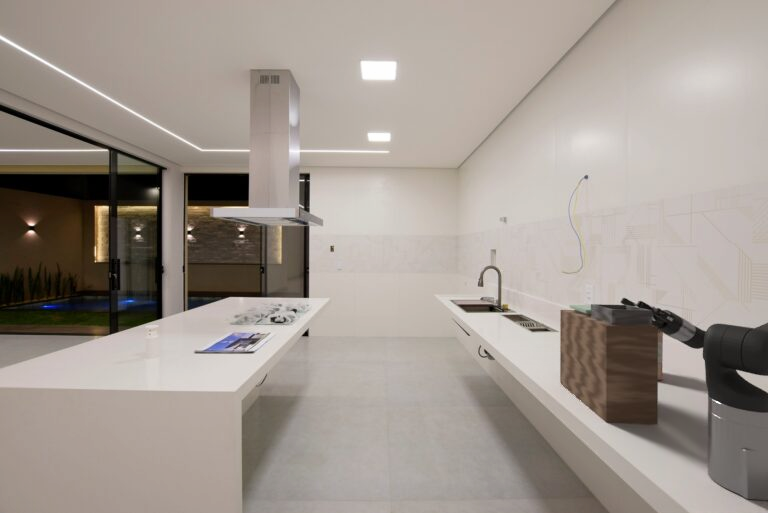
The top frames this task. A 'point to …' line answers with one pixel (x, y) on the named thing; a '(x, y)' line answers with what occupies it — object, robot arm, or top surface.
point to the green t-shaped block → (583, 309)
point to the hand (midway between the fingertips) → (630, 301)
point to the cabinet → (612, 362)
